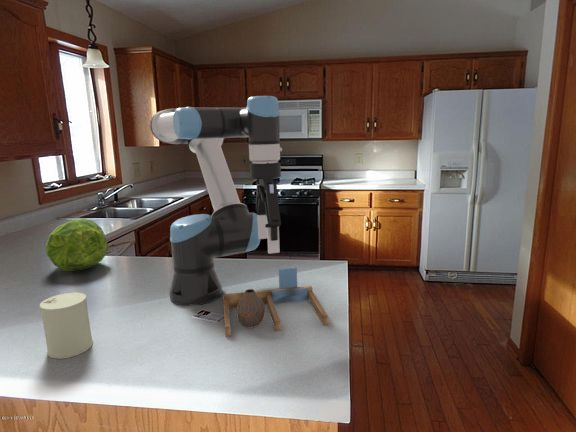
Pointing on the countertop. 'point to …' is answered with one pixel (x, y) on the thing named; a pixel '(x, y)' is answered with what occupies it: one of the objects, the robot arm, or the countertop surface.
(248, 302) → the vase
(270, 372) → the countertop surface
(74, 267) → the lettuce
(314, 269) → the countertop surface
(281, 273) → the tab
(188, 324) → the countertop surface
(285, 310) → the countertop surface
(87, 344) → the can
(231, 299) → the rack
